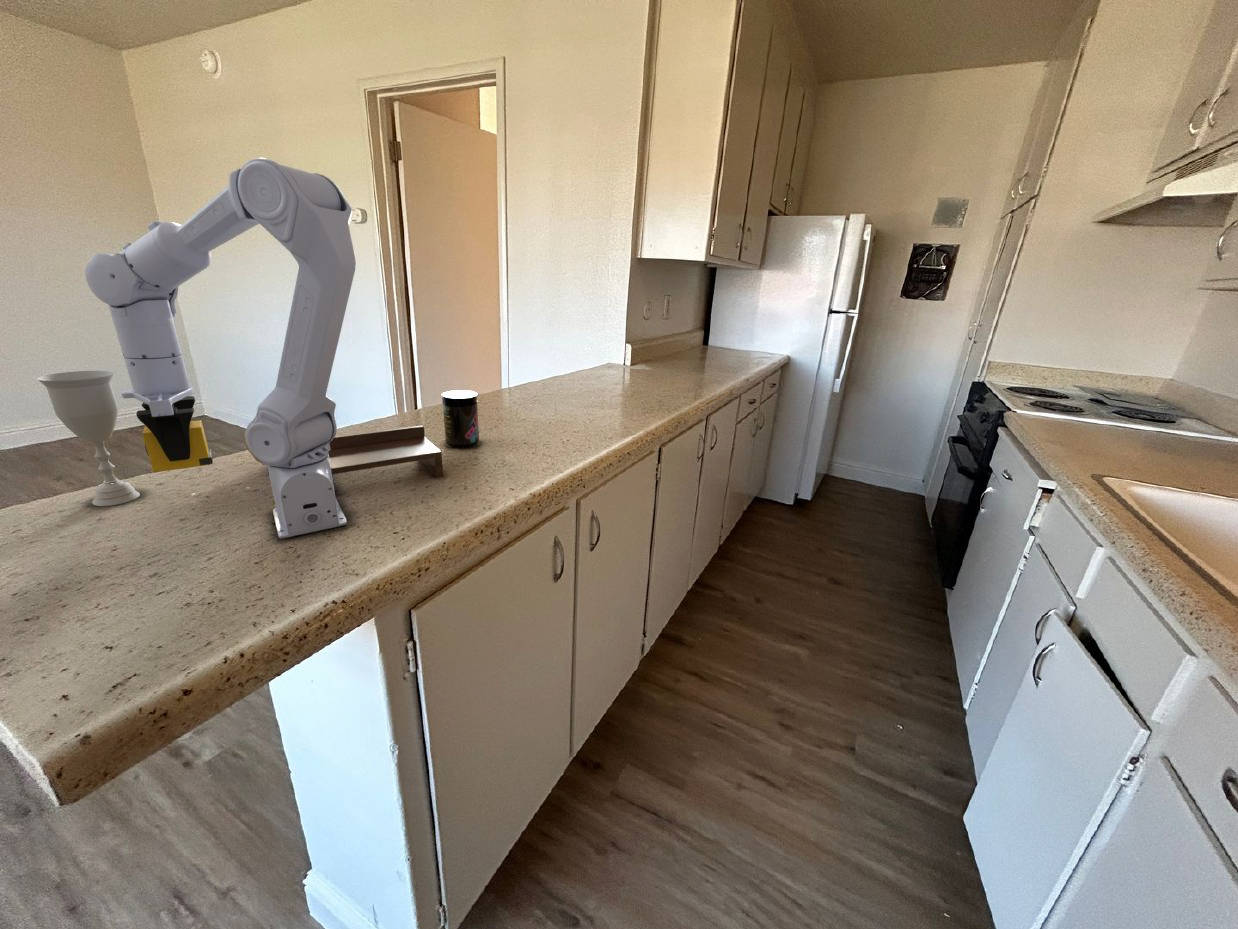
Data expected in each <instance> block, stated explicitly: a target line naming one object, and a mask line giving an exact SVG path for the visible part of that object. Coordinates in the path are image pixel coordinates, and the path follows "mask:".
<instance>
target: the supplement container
mask: <svg viewBox="0 0 1238 929" xmlns="http://www.w3.org/2000/svg"><path fill="white" fill-rule="evenodd" d="M441 401H442V402H441V403H442V412H443V425H444V438H445V444H446V445H447V447H450V448H452V449H470V448H473V447H475V446H477V445H478V444H479V442H480V432H479V431H480V429H479V428H480V426H479V425H480V424H479V407H478V406H479V405H478V393H477V392H475V391H473V390H450V391H446V392H442V393H441Z"/></svg>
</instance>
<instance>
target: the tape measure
mask: <svg viewBox="0 0 1238 929" xmlns="http://www.w3.org/2000/svg"><path fill="white" fill-rule="evenodd" d="M141 436H142V438H143V442H144V449H145V451H146V454H147V456H148V459H149V462H150V465H151V468H152V472H153V473H160V472H162V473H163V472H169V471H176V470H184V469H190V468H198V467H204V466H205V467H206V466H211V465H213V464H214V459H213V458H214V456H213V451H212V449H211V448H209V446H208V442H207V437H206V434H205V430H204V426H203V422H202V419H200V420H191V422H190V427H189V436H190V459H186V460H178V461H170V460H169V459H168V458H167V456H166V455H165V453H164V451H163V449H162V448H161V446H160V444H159V442H158V441H157V439H156V437H155V436H154V435H153V433H152V432H151V431H150V430H149V429H148V428H147V427H146V426H145V425H144V428H143V430H142V433H141Z"/></svg>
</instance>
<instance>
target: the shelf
mask: <svg viewBox="0 0 1238 929" xmlns="http://www.w3.org/2000/svg"><path fill="white" fill-rule="evenodd" d="M330 449H331V450H330V451H328V453H329V460H330V466H331V472H332V475H337V474H338V475H339V474H343V473H344V474H345V473H351V472H356V471H363V470H369V469H370V470H371V469H375V468H376V469H377V468H381V467H388V466H394V465H399V464H406V463H412V462H419V461H420V462H421V463H422V464H423V465H424V466H425V467H426V468H427V469H428V470H429V471H430V472H431V473H432V474H433V475H434V476H435V477H436V478H438V477H439V478H440V477H443V476H444V467H443V453H442V451H441V449H440V448H438V447H437V446H436V445H435V444H433V442H431V440H429V439H427V437H426V432H425V426H424V425H416V426H414V425H413V426H407V427H400V428H399V427H398V428H389V429H383V430H382V429H381V430H375V431H367V432H358V433H351V434H342V435H335V437H334V439H333V440H332V441H331V442H330Z"/></svg>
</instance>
